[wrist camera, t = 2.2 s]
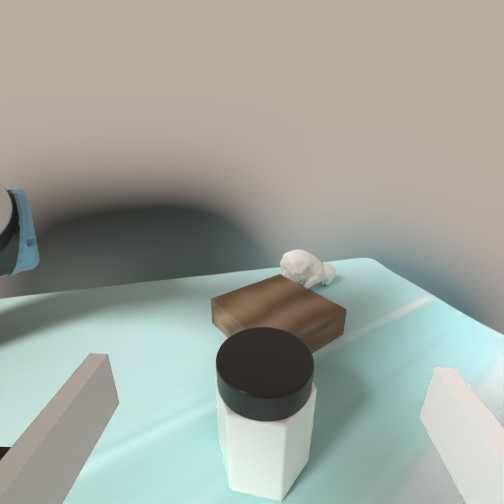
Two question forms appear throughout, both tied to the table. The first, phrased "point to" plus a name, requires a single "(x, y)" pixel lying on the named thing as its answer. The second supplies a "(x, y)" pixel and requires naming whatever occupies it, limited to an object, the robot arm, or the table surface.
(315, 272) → the white animal figurine
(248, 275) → the table surface
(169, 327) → the table surface
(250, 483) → the jar
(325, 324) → the walnut block
